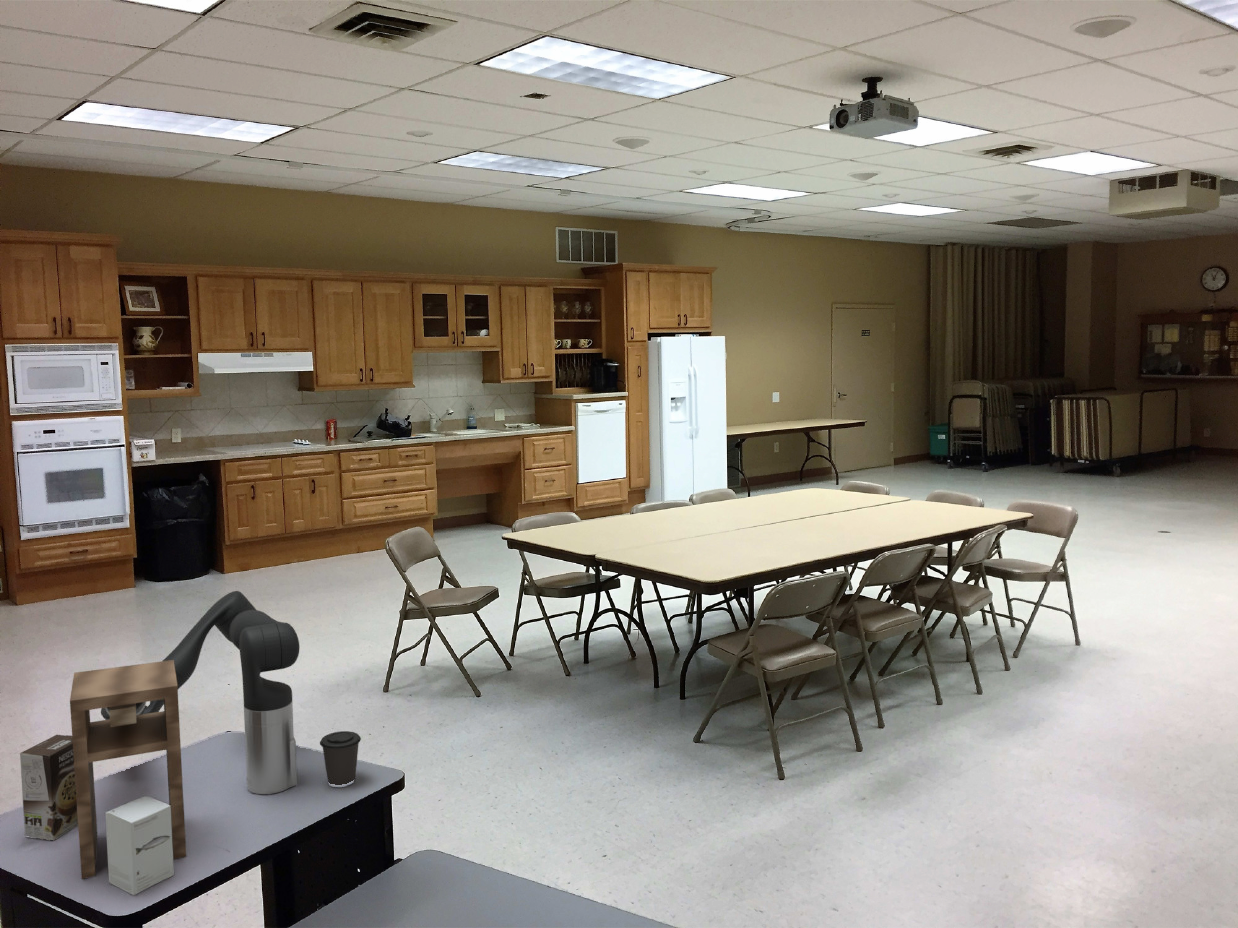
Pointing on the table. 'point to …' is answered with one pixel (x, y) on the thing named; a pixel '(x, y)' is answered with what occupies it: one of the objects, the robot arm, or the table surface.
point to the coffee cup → (340, 756)
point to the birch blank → (122, 715)
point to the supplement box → (139, 844)
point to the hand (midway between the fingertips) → (122, 681)
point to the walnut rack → (124, 740)
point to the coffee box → (49, 788)
